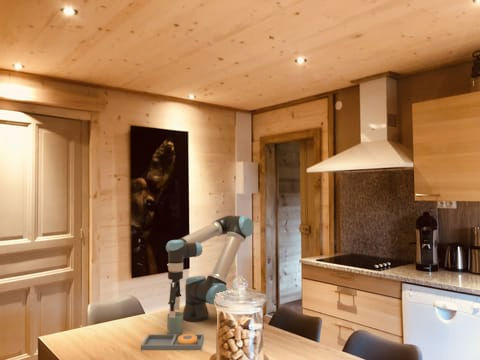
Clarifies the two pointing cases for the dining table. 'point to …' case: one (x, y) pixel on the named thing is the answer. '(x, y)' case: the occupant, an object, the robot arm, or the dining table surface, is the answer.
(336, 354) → the dining table surface
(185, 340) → the orange round thick disc
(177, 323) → the cup
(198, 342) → the tray
